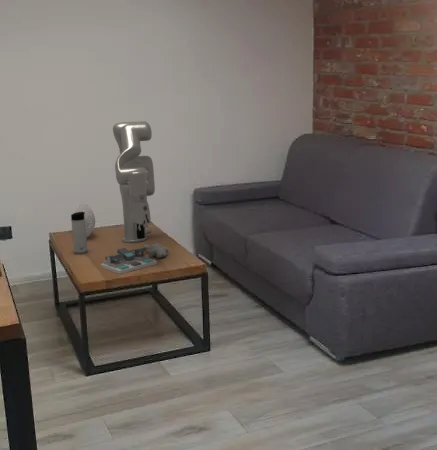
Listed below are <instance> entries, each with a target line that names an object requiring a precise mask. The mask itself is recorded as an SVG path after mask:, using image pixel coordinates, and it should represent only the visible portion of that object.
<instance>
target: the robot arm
mask: <svg viewBox="0 0 437 450" xmlns="http://www.w3.org/2000/svg"><path fill="white" fill-rule="evenodd" d="M112 132H113V136H114V139H115V141H116V143H117V146H118V148H119V155H118V156H117V158H116V161H115V164H114V170H115V171H114V172H115V178H116V182H117V184H118V186H119V193H120V196H121V203H122V217H123V230H124V236H123V237H122V238H121V240H122V242H124V243H140V242H144V241H146V240H147V239H148V237H147V234H151V233H152V229H146V228H148V227H149V224H150V223H151V219H152V217H151V211H150V205H149V202H148V197H151V196H153V195H154V194H155V192H156V191H155V190H156V186H155V171H154V163H153V159H152V158H151V156H149V155H141V153H142V146H141V142H148V141H150V140H151V139H152V135H153V133H152V132H153V131H152V127H151V125H150V124H149V122H147V121H145V120H144V121H141V120H140V121H124V122H117V123H115V124H114V125H113V126H112Z"/></svg>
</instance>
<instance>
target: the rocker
mask: <svg viewBox="0 0 437 450" xmlns="http://www.w3.org/2000/svg"><path fill="white" fill-rule="evenodd" d="M107 257H109V258H111V260H114V259H119V258H122V254H118V253H117V254H110V255H108V256H105V257H104V260H105V261H106V260H107Z"/></svg>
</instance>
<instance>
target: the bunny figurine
mask: <svg viewBox="0 0 437 450" xmlns="http://www.w3.org/2000/svg"><path fill="white" fill-rule="evenodd" d="M142 248H146V250H149V252H148V255H149V257H155V258H156V259H162V258H166V257H167V254H168V253H169V248H168V247H165V246H162V243H158V242H155V243H153V244H150V245H149V244H144V245H143V247H142Z"/></svg>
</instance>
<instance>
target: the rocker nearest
mask: <svg viewBox="0 0 437 450" xmlns="http://www.w3.org/2000/svg"><path fill="white" fill-rule="evenodd" d="M129 251H130V252H132V251H135V254H136V253H140V254H141V253H142V252H144V253H145V252H147V251H148V249H146V248H143V247H141V248H135V249H132V250H129Z"/></svg>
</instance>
